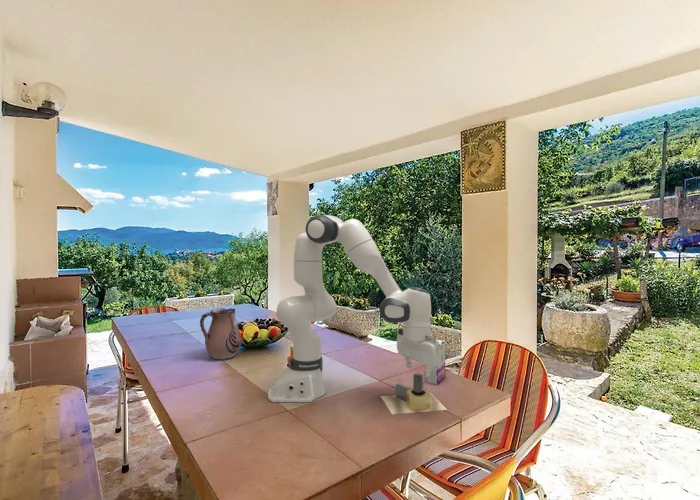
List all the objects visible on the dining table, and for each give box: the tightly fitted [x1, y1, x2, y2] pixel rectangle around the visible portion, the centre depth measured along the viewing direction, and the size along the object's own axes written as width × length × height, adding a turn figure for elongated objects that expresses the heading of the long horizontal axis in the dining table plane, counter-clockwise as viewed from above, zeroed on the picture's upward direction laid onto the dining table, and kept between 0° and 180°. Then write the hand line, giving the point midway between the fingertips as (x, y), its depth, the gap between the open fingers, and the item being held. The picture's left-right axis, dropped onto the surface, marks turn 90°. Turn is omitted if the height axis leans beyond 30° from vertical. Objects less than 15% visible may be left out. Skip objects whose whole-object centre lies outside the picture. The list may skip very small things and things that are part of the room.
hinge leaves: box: [395, 381, 431, 411], centre depth 133 cm, size 11×13×5 cm
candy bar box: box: [426, 339, 446, 386], centre depth 160 cm, size 11×5×16 cm, turn 148°
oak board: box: [380, 392, 448, 415], centre depth 133 cm, size 20×15×2 cm
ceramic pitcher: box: [199, 307, 242, 360], centre depth 191 cm, size 18×21×25 cm
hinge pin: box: [412, 373, 424, 395], centre depth 130 cm, size 3×3×11 cm
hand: (417, 371), depth 130 cm, fingers open, 8 cm apart
